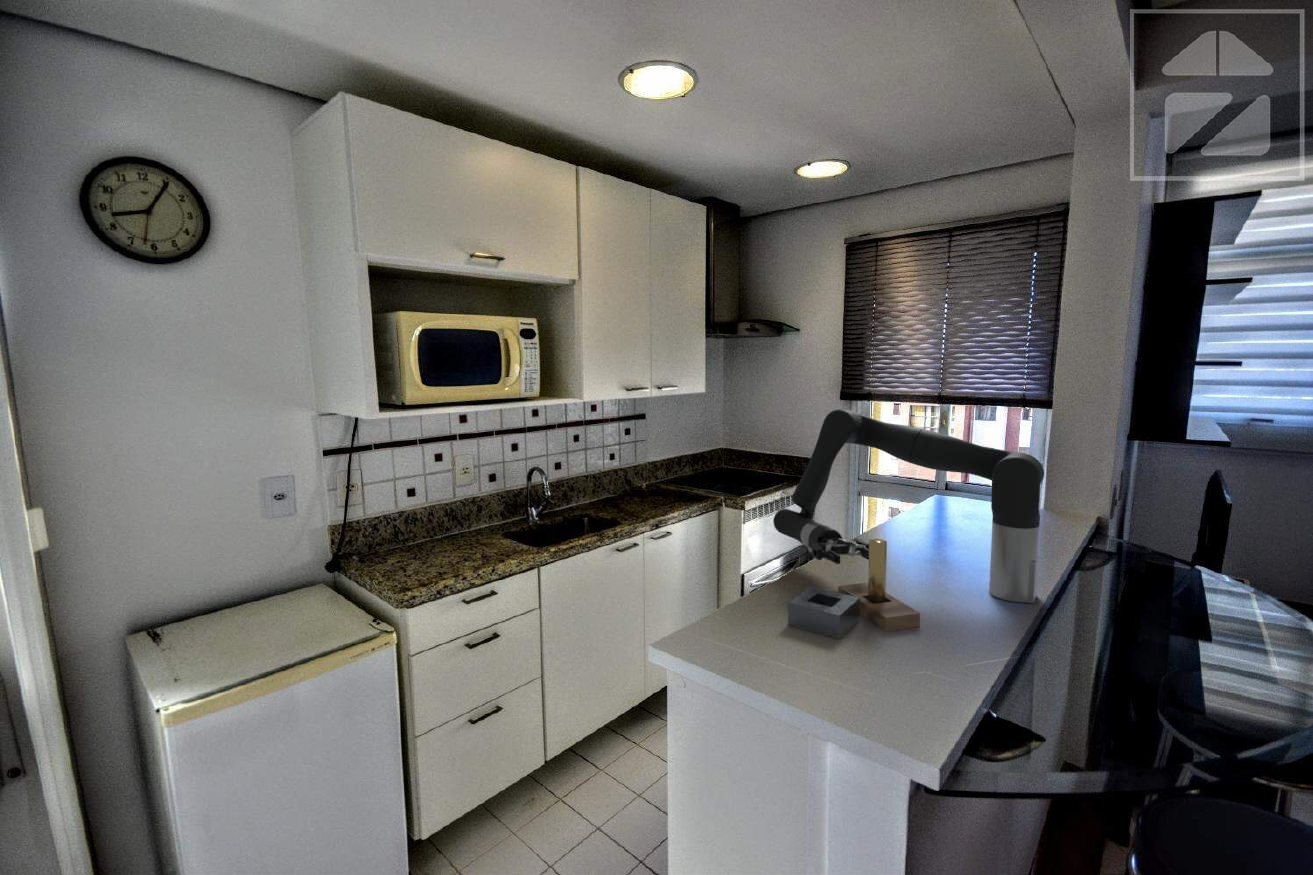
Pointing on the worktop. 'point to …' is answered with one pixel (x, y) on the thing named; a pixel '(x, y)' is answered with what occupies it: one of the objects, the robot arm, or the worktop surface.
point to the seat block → (823, 612)
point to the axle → (877, 571)
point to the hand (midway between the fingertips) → (855, 558)
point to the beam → (883, 609)
